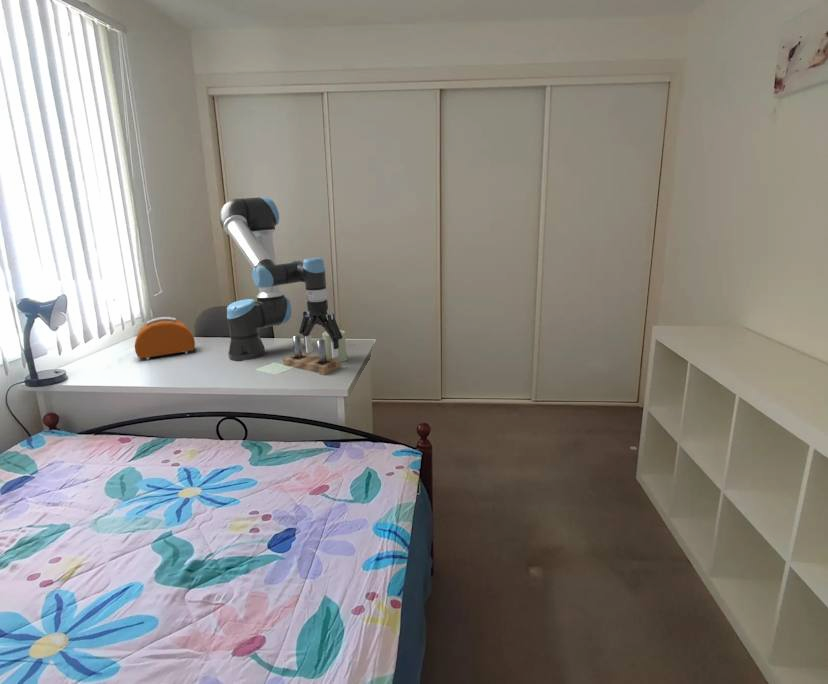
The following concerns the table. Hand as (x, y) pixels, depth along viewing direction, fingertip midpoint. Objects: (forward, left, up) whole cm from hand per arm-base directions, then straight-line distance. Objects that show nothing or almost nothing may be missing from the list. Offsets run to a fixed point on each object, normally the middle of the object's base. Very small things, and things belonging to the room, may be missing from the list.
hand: (322, 354), depth 199 cm
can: (-4, +11, -6) cm, 13 cm away
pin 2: (0, 0, -6) cm, 6 cm away
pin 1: (-13, 0, -6) cm, 14 cm away
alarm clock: (-77, -18, -6) cm, 79 cm away
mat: (-18, -9, -6) cm, 21 cm away
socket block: (-7, 0, -6) cm, 9 cm away
